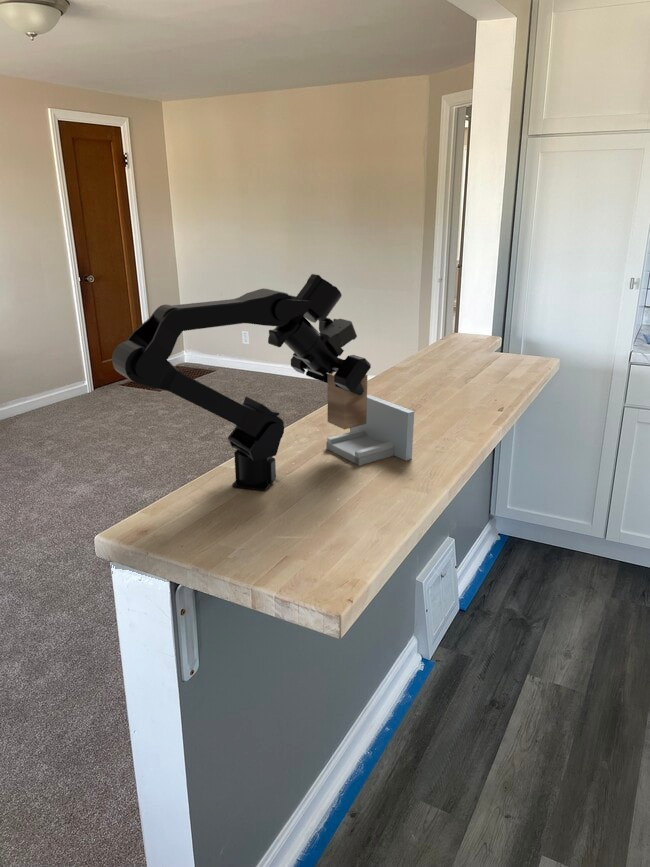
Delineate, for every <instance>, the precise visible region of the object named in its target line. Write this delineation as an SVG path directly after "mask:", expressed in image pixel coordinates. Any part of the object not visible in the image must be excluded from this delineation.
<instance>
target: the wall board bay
mask: <svg viewBox="0 0 650 867" xmlns="http://www.w3.org/2000/svg"><path fill="white" fill-rule="evenodd" d="M414 422H415V411H414V410H411V409H409V408H405V407H403V406H401V405H397V404H395V403H392V402H389V401H387V400H384V399H381V398H379V397H376V396H373V395H370V394H368V393H367V420H366V424H364V425H360V426H356V427H353V428H349V431H348V432H345V433H341V434H337V435H334V436H329V437H327V439H326V444H325V445H326V446H325V447H326V449H327V450H328V451H330V452H331V453H334V454H335V455H338V456H340V457H343V459H346V460H348V461H350V462H351V463H353V464H356V465H357V466H359V467H360V466H362V465H366V464H370V463H373V462H376V461H380V460H383V459H387V458H389V457H390V458H391V457H393V456H395V457H397V458H399V459H401V460H404V461H405V462H407V461H409V460H412V459H413V443H414V424H415V423H414Z"/></svg>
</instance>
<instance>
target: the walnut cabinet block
mask: <svg viewBox="0 0 650 867" xmlns="http://www.w3.org/2000/svg"><path fill="white" fill-rule="evenodd" d="M335 373H336V372H333V373H332V374H331V375H330V374H328V383H327V423H329V424H332V425H334V426H335V427H338V428H340V429H343V430H348V429H349V430H350V428H353V427H356V426H360V425H364V424H366V420H367V394H368V374H366V375H365V376H364V378H363V379H362V381H361V384H362V387H363V389H364V392H363V394H362V395H358V394H355V393H352V392H349V391H346V390H343V389H341V388H338V387H336V386H335V385H336V383H335V382H334V375H335Z"/></svg>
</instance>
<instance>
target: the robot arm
mask: <svg viewBox="0 0 650 867" xmlns="http://www.w3.org/2000/svg"><path fill="white" fill-rule="evenodd" d="M341 298H342V293H341V291H340V290H339V288H338V287H337V286H335V285H333V283H330V282H329V281H327V280H326V279H324V278H322V276H320V274H315V273H311V274H310V276H309V277H308V278H307V281H306V283H305V284H304V285H303V287H302V289H300V291H299V293H297V295H296V296H295V295H292V294H288V293H287V292H284V291H279V290H274V289H270V288H260V289H259V288H258V289H256V290H252V291H250V292H246V293H245V294H243V295H241V296H239V297H237V298H232V299H223V300H222V299H221V300H214V301H213V300H212V301H202V302H192V303H184V304H173V305H171V304H162V305H160V306H158V307H157V308H155V310H154V312H152V314H151V315H150V316H149V318H147V320H145V321H144V322H143V323H142V324H140V325H139V326H138V327H137V328H136V329H135V330H134V331H132V333H131V334H130V335H129V337H127V339H126V341H123V342H121V343H119V344H118V345H117V346H116V347H115V348H114V350H113V351H112V355H111V362H112V366H113V369H114V370H115V371H116V372H117V373H119V375H122V376H123V377H125V378H126V379H128V380H129V381H131V382H132V383H135V384H136V385H140V386H143V387H146V388H151V389H154V390H158V391H164V392H169V393H172V394H173V395H175V396H178V397H179V398H181V399H184V400H186V401H187V402H189V403H192V404H194V405H196V406H198V407H199V408H201V409H203V410H205V411H207V412H209V413H212V414H214V415H216V416H218V417H220V418H222V419H224V420H226V421H228V422H229V423H230V425H231V426H233V427H234V429H233V430H232V431H231V433H230V434H229V435H228V436H227V440H228V442H229V445H230V447H231V448H234V449H235V451H234V452H233V453H234V454H233V456H234V472H235V474H234V475H235V481H233V482H232V484H231V485H232V488H238V489H245V490H247V489H248V490H253V491H255V490H256V491H264V492H265V491H266V490H268V489H269V487H270V486H271V484H273V483H274V481H275V480H276V478H277V472H276V468H277V466H276V459H275V456H277V454H278V450H279V447H280V443H281V440H282V438H283V437H284V436H283V435H284V432H285V422H284V420H283V419H282V418H280V417H279V416H280V412H279V411H276V410H275V409H272V408H271V407H268V406H266V405H265V404H263V403H261V402H259V401H257V400H255V399H253V398H251V397H248V396H245V397H244V400H243V402H239V401H236V400H234V399H232V398H230V397H228V396H226V395H225V394H222V393H221V392H219V391H217V390H215V389H212V388H210V387H209V386H207V385H205V384H204V383H201V381H198V380H196V379H195V378H193V377H190V376H188V375H186V374H184V373H183V372H181V371H180V370H178V369H177V368H176V367H175V366H174V365H173V364H172V363H171V362H170V361H169V360H168V359H169V358H170V356H171V355H172V353H173V350H174V348H175V346H176V344H177V342H178V338H179V337H180V336H181V334H182V333H183V332H187V331H194V330H202V329H211V328H216V327H225V326H234V325H240V324H252V325H258V326H265V327H266V326H267V327H275V328H273V329H269V330H268V337H267V338H268V340H267V343H268V345H272V346H274V347H277V348H281V347H282V346H283V345H284V344H285V345H286V346H287V347H289V349H290V350H291V351H292V352H293V354H292V357H291V358H290V367H291V368H292V369H293V370H295V372H297V373H300V374H303V375H304V374H305V375H306V376H307V377H309V378H311V379H315V380H316V381H320V382H322V383H326V384H328V374H330V375H331V374H332V373H333V372H336V373H335V375H334V382H335V383H336V385H335V386H336V387H338V388H341V389H343V390H346V391H349V392H352V393H355V394H358V395H362V394H363V392H364V389H363V387H362V384H361V381H362V379H363V378H364V376H365V375H368V374H367V373H368V372H369V371H370V369H371V368H372V366H371V363H370V361H368V360H367V359H366V358H365V357H362V356H358V355H356V354H351V355H348V356H347V357H346V358H345V359H343V358H340V356H342V355H343V353H344V351H345V350H344V349H343V348H344V346H346V345H347V344H348V343H350V342H351V341H352V340H353V341H354V340H356V338H358V334H357V333H356V329H355V327H354V324H353V321H351V320H348V319H343V318H334V319H331V318H329V317H328V316H329V315H330V313H332V311H333V310H334V308H335V307H336V305H337V304H338V302H339V301H340V300H341ZM317 321H318V330H317V329H316V328H315V327H314V325H312V324H311V323H314V324H315V323H317Z"/></svg>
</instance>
